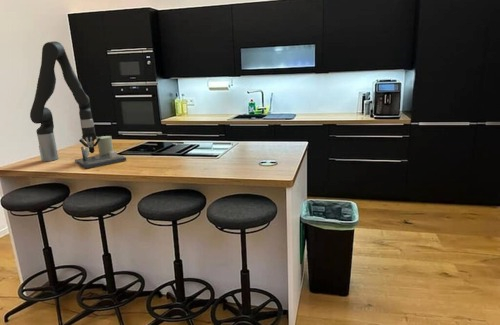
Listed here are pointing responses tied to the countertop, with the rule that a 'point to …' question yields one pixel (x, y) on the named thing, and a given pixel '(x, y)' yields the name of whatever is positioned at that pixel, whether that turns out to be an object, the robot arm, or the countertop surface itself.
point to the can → (105, 145)
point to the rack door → (86, 152)
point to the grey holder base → (98, 160)
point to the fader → (113, 154)
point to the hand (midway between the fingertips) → (92, 152)
